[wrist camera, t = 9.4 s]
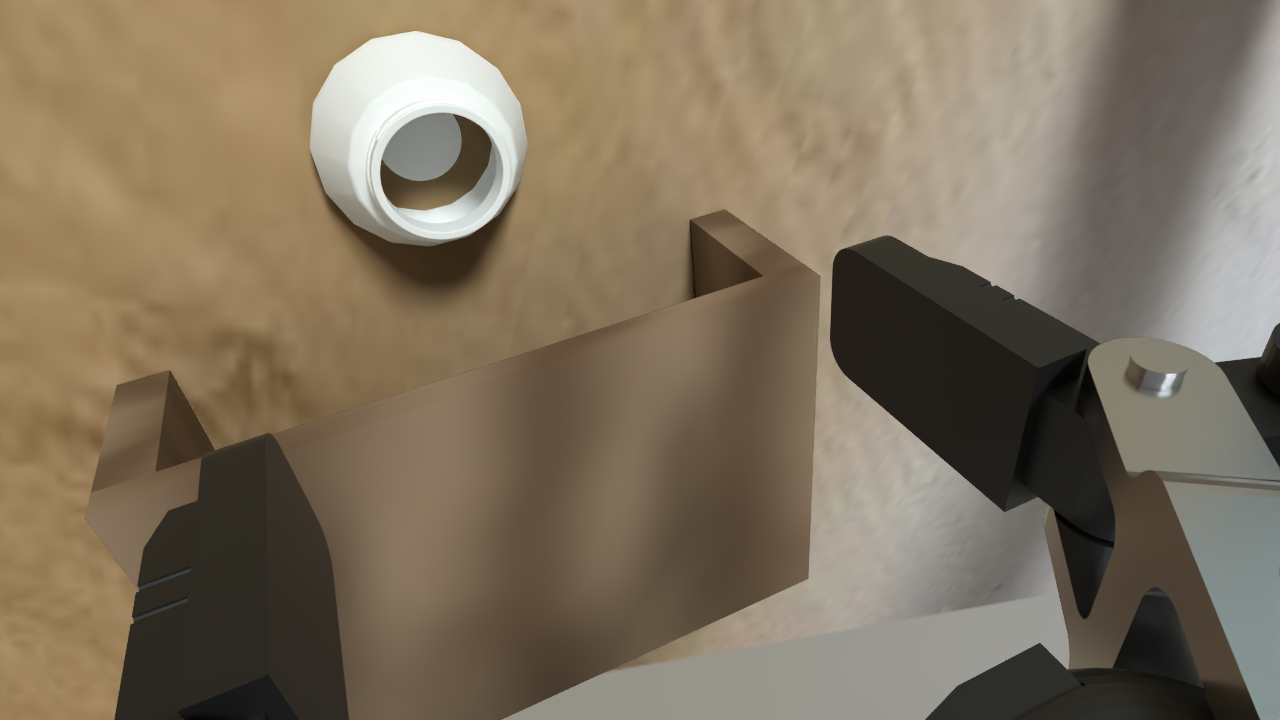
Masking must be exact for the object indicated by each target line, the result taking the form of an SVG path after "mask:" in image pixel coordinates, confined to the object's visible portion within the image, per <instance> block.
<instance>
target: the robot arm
mask: <svg viewBox="0 0 1280 720" xmlns="http://www.w3.org/2000/svg"><path fill="white" fill-rule="evenodd" d="M830 342H831V348H832V352H833V355H834V358H835V360H836V362H837V364H838V366H839V367H840V369H841V371H842V372H843V373H844V374H845V375H846V376H847V377H848V378H849V379H850V380H851V381H852V382H854V383H855V384H856V385H857V386H858V387H859V388H861V389H862V390H863V391H864V392H865V393H866V394H868V395H869V396H870V397H871V398H872V399H873V400H875V401H876V402H877V403H878V404H879V405H880V406H882V407H883V408H884V409H885V410H886V411H887V412H889V413H890V414H891V415H892V416H893V417H894V418H896V419H897V420H898V421H899V422H900V423H901V424H903V425H904V426H905V427H906V428H907V429H908V430H909V431H911V432H912V433H913V434H914V435H915V436H916V437H918V438H919V439H920V440H921V441H922V442H923V443H925V444H926V445H927V446H928V447H929V448H930V449H932V450H933V451H934V452H935V453H936V454H937V455H939V456H940V457H941V458H942V459H943V460H944V461H946V462H947V463H948V464H949V465H950V466H951V467H953V468H954V469H955V470H956V471H957V472H958V473H960V474H961V475H962V476H963V477H964V478H965V479H967V480H968V481H969V482H970V483H971V484H972V485H974V486H975V487H976V488H977V489H978V490H979V491H981V492H982V493H983V494H984V495H985V496H986V497H988V498H989V499H990V500H991V501H992V502H993V503H995V504H996V505H997V506H998V507H999V508H1000V509H1002V510H1003V511H1004V512H1006V511H1008V510H1010V509H1012V508H1015V507H1017V506H1019V505H1021V504H1023V503H1025V502H1028V501H1030V500H1032V499H1034V498H1036V497H1039V498H1040V499H1042V500H1043V501H1044V502H1045V503H1047V508H1046V511H1045V515H1044V520H1043V521H1044V529H1045V533H1046V538H1047V542H1048V547H1049V551H1050V556H1051V561H1052V565H1053V570H1054V574H1055V579H1056V583H1057V588H1058V592H1059V597H1060V601H1061V606H1062V610H1063V615H1064V619H1065V624H1066V628H1067V633H1068V639H1069V648H1070V649H1069V651H1070V659H1069V669H1068V670H1067V669H1066V668H1065V667H1064V666H1063V665H1062V664H1061V663H1060V662H1059V661H1058V660H1057V659H1056V658H1055V657H1054V656H1053V655H1052V654H1051V653H1050V652H1049V651H1048V650H1047V649H1046V648H1045V647H1044V646H1043V645H1042V644H1041V643H1039V644H1037V645H1035V646H1033V647H1031V648H1029V649H1027V650H1025V651H1023V652H1022V653H1020V654H1018V655H1016V656H1014V657H1012V658H1010V659H1008V660H1006V661H1004V662H1002V663H1001V664H999V665H997V666H995V667H993V668H991V669H989V670H987V671H985V672H983V673H981V674H980V675H978V676H976V677H974V678H972V679H970V680H968V681H966V682H964V683H962V684H961V685H959V686H957V687H956V688H955V689H954V690H953V691H952V692H951V693H950V695H948V696H947V698H945V700H944V701H943V702H942V703H941V704H940V705H939V706H938V707H937V708H936V709H935V710H934V711H933V712H932V713H931V714H930V715H929V716H928V717H927V718H926V720H1280V323H1279V324H1278V325H1276V326H1275V328H1274V330H1273V332H1272V334H1271V336H1270V338H1269V341H1268V343H1267V345H1266V348H1265V350H1264V352H1263V354H1262V357H1257V358H1249V359H1241V360H1233V361H1224V362H1216V363H1214V362H1213V361H1212V360H1210V359H1209V358H1207V357H1206V356H1204V355H1202V354H1200V353H1198V352H1197V351H1194V350H1192V349H1190V348H1187V347H1185V346H1182V345H1179V344H1176V343H1172V342H1168V341H1164V340H1158V339H1152V338H1140V337H1129V338H1119V339H1114V340H1110V341H1107V342H1104V343H1102V344H1100V343H1098V342H1096V341H1095V340H1093V339H1091V338H1089V337H1088V336H1086V335H1084V334H1082V333H1080V332H1079V331H1077V330H1075V329H1073V328H1071V327H1070V326H1068V325H1066V324H1064V323H1063V322H1061V321H1059V320H1057V319H1055V318H1054V317H1052V316H1050V315H1048V314H1047V313H1045V312H1043V311H1041V310H1039V309H1038V308H1036V307H1034V306H1032V305H1030V304H1029V303H1027V302H1025V301H1023V300H1022V299H1017V300H1015V298H1014V295H1013V294H1011V293H1009V292H1007V291H1006V290H1004V289H1002V288H1000V287H998V286H997V285H996V286H993V287H992V286H991V282H989V281H988V280H986V279H984V278H982V277H981V276H979V275H977V274H975V273H973V272H972V271H970V270H968V269H966V268H965V267H963V266H960V265H956V264H952V263H949V262H945V261H942V260H938V259H934V258H931V257H928V256H926V255H924V254H922V253H921V252H919V251H917V250H915V249H914V248H912V247H910V246H909V245H907V244H905V243H903V242H902V241H900V240H898V239H896V238H894V237H892V236H882V237H879V238H876V239H872V240H869V241H866V242H863V243H860V244H857V245H854V246H851V247H848V248H845V249H842V250H840V251H839V252H838V253H837V254H836V256H835V259H834V262H833V274H832V301H831V327H830ZM137 586H138V588H139V592H137V593H136V595H135V601H134V607H133V613H132V617H133V620H134V623H133V624H131V625H130V631H129V637H128V643H127V649H126V655H125V661H124V666H123V672H122V678H121V684H120V690H119V696H118V702H117V708H116V714H115V720H349V715H348V706H347V696H346V687H345V678H344V669H343V659H342V650H341V641H340V631H339V622H338V613H337V603H336V594H335V585H334V575H333V567H332V561H331V556H330V552H329V548H328V545H327V541H326V538H325V536H324V533H323V530H322V528H321V525H320V523H319V521H318V519H317V517H316V515H315V513H314V511H313V509H312V507H311V505H310V503H309V501H308V499H307V497H306V495H305V493H304V491H303V490H302V488H301V486H300V484H299V482H298V480H297V478H296V476H295V474H294V472H293V470H292V468H291V466H290V464H289V462H288V461H287V459H286V457H285V455H284V453H283V451H282V449H281V447H280V445H279V443H278V442H277V440H276V439H275V438H274V436H273V435H271V434H270V433H268V434H264V435H261V436H258V437H255V438H252V439H249V440H246V441H243V442H240V443H237V444H233V445H230V446H227V447H224V448H221V449H218V450H215V451H212V452H209V453H206V454H204V455H203V457H202V460H201V468H200V478H199V488H198V499H197V501H195V502H192V503H189V504H186V505H183V506H180V507H177V508H174V509H171V510H168V512H167V513H166V515H165V516H164V518H163V519H162V521H161V522H160V524H159V525H158V527H157V528H156V530H155V532H154V533H153V535H152V536H151V538H150V539H149V541H148V542H147V544H146V545H145V547H144V548H143V554H142V560H141V566H140V572H139V578H138V584H137Z"/></svg>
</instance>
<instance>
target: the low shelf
mask: <svg viewBox="0 0 1280 720" xmlns="http://www.w3.org/2000/svg"><path fill="white" fill-rule="evenodd" d="M690 222H691V236H692V251H693V266H694V280H695V295H696V298H694V299H691V300H688V301H685V302H682V303H679V304H676V305H673V306H669V307H666V308H663V309H660V310H657V311H654V312H651V313H648V314H645V315H641V316H638V317H635V318H632V319H629V320H626V321H623V322H620V323H617V324H614V325H610V326H607V327H604V328H601V329H598V330H595V331H592V332H589V333H586V334H583V335H579V336H576V337H573V338H570V339H567V340H564V341H561V342H558V343H555V344H551V345H548V346H545V347H542V348H539V349H536V350H533V351H530V352H527V353H524V354H520V355H517V356H514V357H511V358H508V359H505V360H502V361H499V362H496V363H492V364H489V365H486V366H483V367H480V368H477V369H474V370H471V371H468V372H465V373H461V374H458V375H455V376H452V377H449V378H446V379H443V380H440V381H437V382H433V383H430V384H427V385H424V386H421V387H418V388H415V389H412V390H409V391H406V392H402V393H399V394H396V395H393V396H390V397H387V398H384V399H381V400H378V401H375V402H371V403H368V404H365V405H362V406H359V407H356V408H353V409H350V410H347V411H343V412H340V413H337V414H334V415H331V416H328V417H325V418H322V419H319V420H316V421H312V422H309V423H306V424H303V425H300V426H297V427H294V428H291V429H288V430H284V431H281V432H278V433H275V434H272V435H273V436H274V438H275V439H276V440H277V442H278V443H279V445H280V447H281V449H282V451H283V453H284V455H285V457H286V459H287V461H288V462H289V464H290V466H291V468H292V470H293V472H294V474H295V476H296V478H297V480H298V482H299V484H300V486H301V488H302V490H303V491H304V493H305V495H306V497H307V499H308V501H309V503H310V505H311V507H312V509H313V511H314V513H315V515H316V517H317V519H318V521H319V523H320V525H321V528H322V530H323V533H324V536H325V538H326V541H327V545H328V548H329V552H330V556H331V561H332V567H333V575H334V585H335V594H336V603H337V613H338V622H339V631H340V641H341V650H342V659H343V669H344V678H345V687H346V696H347V706H348V715H349V720H501V719H504V718H506V717H508V716H510V715H512V714H515V713H517V712H519V711H521V710H523V709H525V708H528V707H530V706H532V705H534V704H536V703H538V702H541V701H543V700H545V699H547V698H549V697H552V696H554V695H556V694H558V693H560V692H563V691H565V690H567V689H569V688H571V687H573V686H576V685H578V684H580V683H582V682H584V681H586V680H589V679H591V678H593V677H595V676H597V675H600V674H602V673H604V672H606V671H608V670H610V669H613V668H615V667H617V666H619V665H621V664H624V663H626V662H628V661H630V660H632V659H634V658H637V657H639V656H641V655H643V654H645V653H647V652H650V651H652V650H654V649H656V648H658V647H661V646H663V645H665V644H667V643H669V642H671V641H674V640H676V639H678V638H680V637H682V636H685V635H687V634H689V633H691V632H693V631H695V630H698V629H700V628H702V627H704V626H706V625H708V624H711V623H713V622H715V621H717V620H719V619H722V618H724V617H726V616H728V615H730V614H732V613H735V612H737V611H739V610H741V609H743V608H745V607H748V606H750V605H752V604H754V603H756V602H759V601H761V600H763V599H765V598H767V597H769V596H772V595H774V594H776V593H778V592H780V591H783V590H785V589H787V588H789V587H791V586H793V585H796V584H798V583H800V582H802V581H804V580H806V579H808V572H809V548H810V523H811V498H812V473H813V448H814V424H815V399H816V374H817V349H818V324H819V299H820V275H818V274H817V273H816V272H814V271H813V270H811V269H810V268H808V267H807V266H806V265H804V264H803V263H801V262H800V261H798V260H797V259H795V258H794V257H793V256H791V255H790V254H788V253H787V252H785V251H784V250H783V249H781V248H780V247H778V246H777V245H775V244H774V243H772V242H771V241H770V240H768V239H767V238H765V237H764V236H762V235H761V234H760V233H758V232H757V231H755V230H754V229H752V228H751V227H749V226H748V225H747V224H745V223H744V222H742V221H741V220H739V219H738V218H737V217H735V216H734V215H732V214H731V213H729V212H728V211H726V210H722V211H718V212H715V213H712V214H708V215H705V216H701V217H698V218H694V219H691V220H690ZM212 451H215V450H214V448H213V446H212V444H211V443H210V441H209V439H208V437H207V435H206V434H205V432H204V430H203V428H202V427H201V425H200V423H199V421H198V419H197V418H196V416H195V414H194V412H193V411H192V409H191V407H190V405H189V404H188V402H187V400H186V398H185V396H184V395H183V393H182V391H181V389H180V388H179V386H178V384H177V382H176V380H175V379H174V377H173V375H172V373H171V372H170V370H169V371H165V372H162V373H158V374H155V375H151V376H148V377H144V378H141V379H137V380H134V381H130V382H127V383H124V384H120V385H117V387H116V391H115V395H114V399H113V403H112V407H111V412H110V416H109V420H108V424H107V428H106V432H105V436H104V441H103V445H102V449H101V453H100V457H99V461H98V466H97V470H96V474H95V478H94V482H93V486H92V490H91V495H90V499H89V503H88V507H87V511H86V515H85V520H86V521H87V522H88V524H89V525H90V526H91V528H92V529H93V530H94V532H95V533H96V534H97V536H98V537H99V538H100V540H101V541H102V542H103V544H104V545H105V546H106V548H107V549H108V550H109V552H110V553H111V555H112V556H113V557H114V559H115V560H116V561H117V563H118V564H119V565H120V567H121V568H122V569H123V571H124V572H125V573H126V575H127V576H128V577H129V579H130V580H131V581H132V583H133V584H134V585H135V587H136V588H137V589H138V591H139V588H138V586H137V584H138V578H139V572H140V566H141V560H142V554H143V548H144V547H145V545H146V544H147V542H148V541H149V539H150V538H151V536H152V535H153V533H154V532H155V530H156V528H157V527H158V525H159V524H160V522H161V521H162V519H163V518H164V516H165V515H166V513H167V512H168V510H171V509H174V508H177V507H180V506H183V505H186V504H189V503H192V502H195V501H197V499H198V488H199V478H200V468H201V460H202V457H203V455H204V454H206V453H209V452H212Z"/></svg>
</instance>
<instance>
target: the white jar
mask: <svg viewBox="0 0 1280 720" xmlns="http://www.w3.org/2000/svg"><path fill="white" fill-rule="evenodd" d="M453 114H455V115H459V116H462V117H465V118H467V119H469V120H471V121H473V122H475V123H476V124H478V125H479V126H480V127H482V128H483V129H484V130H485V132H486V133H487V135H488V136H489V138H490V140H491V142H492V147H491V152H490V158H489V164H488V167H487V168H486V170H485V171H484V173H483V175H482V176H481V178H480V179H479V181H478V182H477V184H476V186H475V187H474V189H472V190H471V191H469V192H468V193H467V194H465V195H464V196H462V197H461V198H460V199H458V200H457V201H455V202H454V203H453V204H451V205H447V206H443V207H439V208H435V209H431V210H427V211H421V210H413V209H405V208H397V207H395V206H393V205H392V203H391V202H390V201H389V200H388V199H387V197H386V196H385V194H384V192H383V189H382V185H381V179H380V166H381V160H383V161H384V163H385V164H386V165H387V166H388V167H389V168H390V169H391V170H392V171H393V172H394V173H396V174H397V175H399V176H401V177H403V178H406V179H409V180H414V181H426V180H431V179H435V178H437V177H439V176H441V175H443V174H444V173H446V172H447V171H448V170H449V169H450V168H451V167H452V166H453V165H454V163H455V162H456V160H457V158H458V156H459V153H460V150H461V144H462V137H461V131H460V127H459V125H458V122H457V120H456V119H455V117H454V116H453ZM527 145H528V143H527V138H526V132H525V127H524V121H523V116H522V111H521V105H520V103H519V102H518V100H517V99H516V97H515V95H514V94H513V92H512V91H511V89H510V87H509V86H508V84H507V83H506V81H505V80H504V78H503V76H502V75H501V73H500V72H499V70H498V69H497V68H496V67H494V66H493V65H492V64H490V63H489V62H488V61H486V60H485V59H483V58H482V57H481V56H479V55H478V54H476V53H475V52H474V51H472V50H471V49H469V48H468V47H467V46H465V45H464V44H462V43H461V42H460V41H457V40H453V39H448V38H444V37H440V36H435V35H431V34H427V33H422V32H418V31H412V32H407V33H401V34H396V35H391V36H385V37H380V38H374V39H371V40H369V41H368V42H366V43H365V44H364V45H362V46H361V47H359V48H358V49H356V50H355V51H354V52H352V53H351V54H349V55H348V56H347V57H345V58H344V59H342V60H341V61H339V62H338V63H337V64H335V65H334V67H333V69H332V71H331V72H330V74H329V76H328V78H327V79H326V81H325V83H324V85H323V86H322V88H321V90H320V92H319V93H318V95H317V97H316V99H315V101H314V102H313V109H312V122H311V135H310V150H311V153H312V156H313V159H314V162H315V165H316V168H317V170H318V173H319V176H320V179H321V182H322V185H323V187H324V190H325V193H326V194H327V195H328V196H329V197H330V198H331V199H332V200H333V201H334V203H335V204H336V205H337V206H338V207H339V208H340V209H341V210H342V211H343V213H344V214H345V215H346V216H347V217H348V218H349V219H350V220H351V221H352V222H353V224H355V225H357V226H359V227H361V228H363V229H365V230H367V231H369V232H371V233H373V234H375V235H377V236H379V237H381V238H383V239H385V240H387V241H389V242H391V243H401V244H411V245H421V246H435V245H438V244H442V243H446V242H450V241H453V240H457V239H461V238H465V237H468V236H470V235H471V234H473V233H474V232H475V231H477V230H478V229H480V228H481V227H483V226H484V225H485V224H487V223H488V222H489V221H491V220H492V219H493V218H495V217H496V216H498V215H499V214H500V213H501V211H502V209H503V208H504V206H505V205H506V203H507V202H508V200H509V199H510V197H511V196H512V194H513V192H514V191H515V189H516V188H517V186H518V185H519V183H520V180H521V175H522V170H523V165H524V160H525V155H526V150H527Z"/></svg>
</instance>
